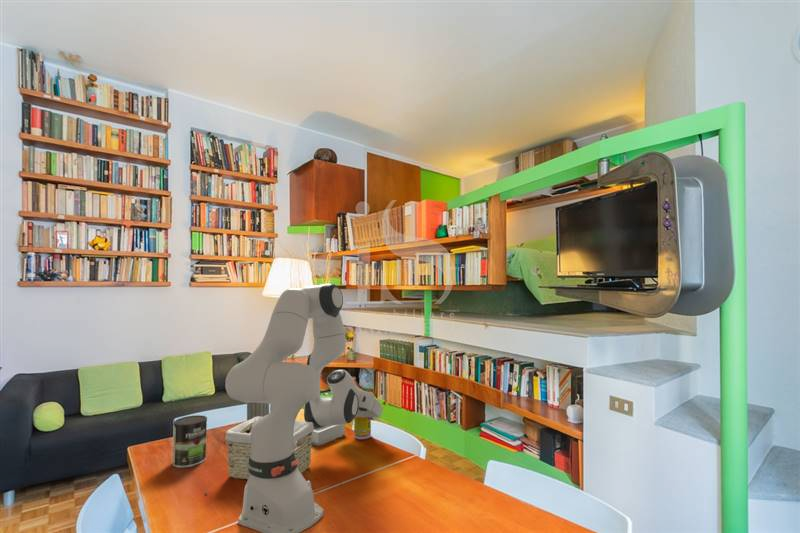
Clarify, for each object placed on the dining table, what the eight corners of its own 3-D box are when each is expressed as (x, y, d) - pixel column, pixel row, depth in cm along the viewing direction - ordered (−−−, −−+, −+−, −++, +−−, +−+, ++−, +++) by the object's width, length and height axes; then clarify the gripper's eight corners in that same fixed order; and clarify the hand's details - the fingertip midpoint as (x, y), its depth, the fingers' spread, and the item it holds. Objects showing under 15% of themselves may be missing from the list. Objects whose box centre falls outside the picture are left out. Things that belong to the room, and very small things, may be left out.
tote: (344, 435, 158) (344, 422, 159) (317, 446, 147) (317, 432, 147) (321, 427, 167) (321, 415, 167) (294, 437, 156) (294, 425, 156)
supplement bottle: (369, 440, 153) (369, 406, 154) (353, 440, 153) (353, 406, 154) (371, 433, 160) (371, 401, 160) (355, 433, 160) (355, 401, 160)
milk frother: (261, 440, 153) (261, 402, 154) (226, 437, 157) (227, 399, 158) (280, 428, 167) (280, 392, 168) (248, 425, 171) (248, 390, 172)
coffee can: (211, 459, 136) (212, 418, 137) (180, 470, 128) (181, 427, 129) (197, 452, 143) (198, 413, 143) (167, 462, 134) (168, 420, 135)
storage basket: (222, 478, 123) (222, 430, 124) (256, 457, 139) (256, 414, 139) (287, 490, 116) (287, 439, 116) (315, 466, 131) (315, 421, 132)
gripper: (324, 404, 150) (337, 421, 159) (372, 409, 143) (383, 428, 151) (330, 389, 155) (343, 407, 163) (377, 394, 147) (388, 412, 156)
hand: (363, 417), depth 157 cm, fingers open, 8 cm apart
